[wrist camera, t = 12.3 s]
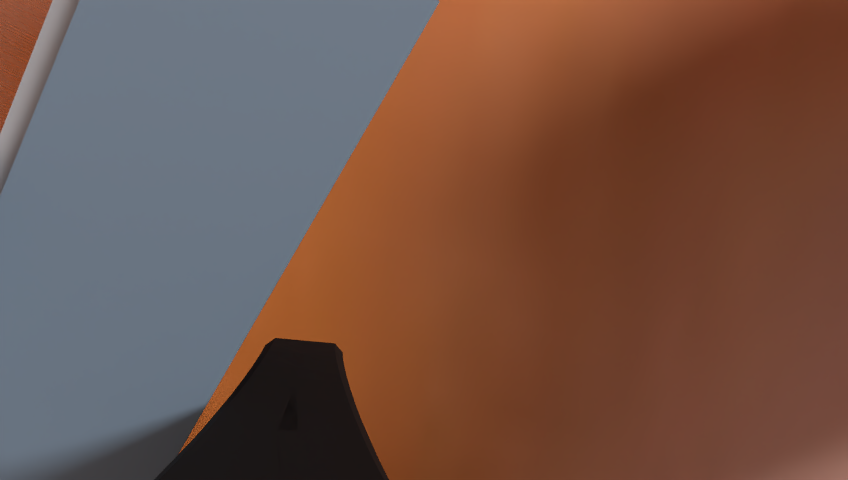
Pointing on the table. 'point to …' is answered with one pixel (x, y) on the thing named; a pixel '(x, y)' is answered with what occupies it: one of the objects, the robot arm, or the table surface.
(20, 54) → the block
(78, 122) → the sliding jaw
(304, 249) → the table surface
